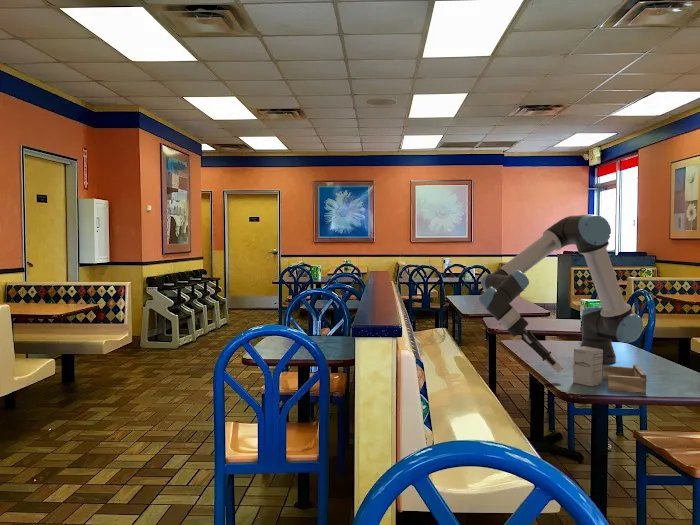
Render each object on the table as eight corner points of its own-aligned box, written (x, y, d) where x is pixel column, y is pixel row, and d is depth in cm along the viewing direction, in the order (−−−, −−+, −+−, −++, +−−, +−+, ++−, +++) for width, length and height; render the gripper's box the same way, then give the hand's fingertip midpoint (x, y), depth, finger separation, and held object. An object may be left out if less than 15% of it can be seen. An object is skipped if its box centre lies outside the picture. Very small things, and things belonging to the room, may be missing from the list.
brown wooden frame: (603, 379, 213) (603, 362, 213) (637, 381, 210) (637, 364, 209) (608, 390, 197) (608, 372, 197) (645, 393, 194) (646, 374, 193)
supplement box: (572, 383, 208) (572, 348, 207) (583, 380, 212) (584, 345, 212) (591, 387, 202) (591, 351, 201) (602, 384, 206) (603, 348, 206)
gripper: (507, 326, 221) (552, 373, 217) (505, 332, 209) (553, 381, 204) (521, 313, 219) (567, 360, 215) (520, 318, 207) (569, 367, 202)
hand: (560, 370), depth 210 cm, fingers closed
